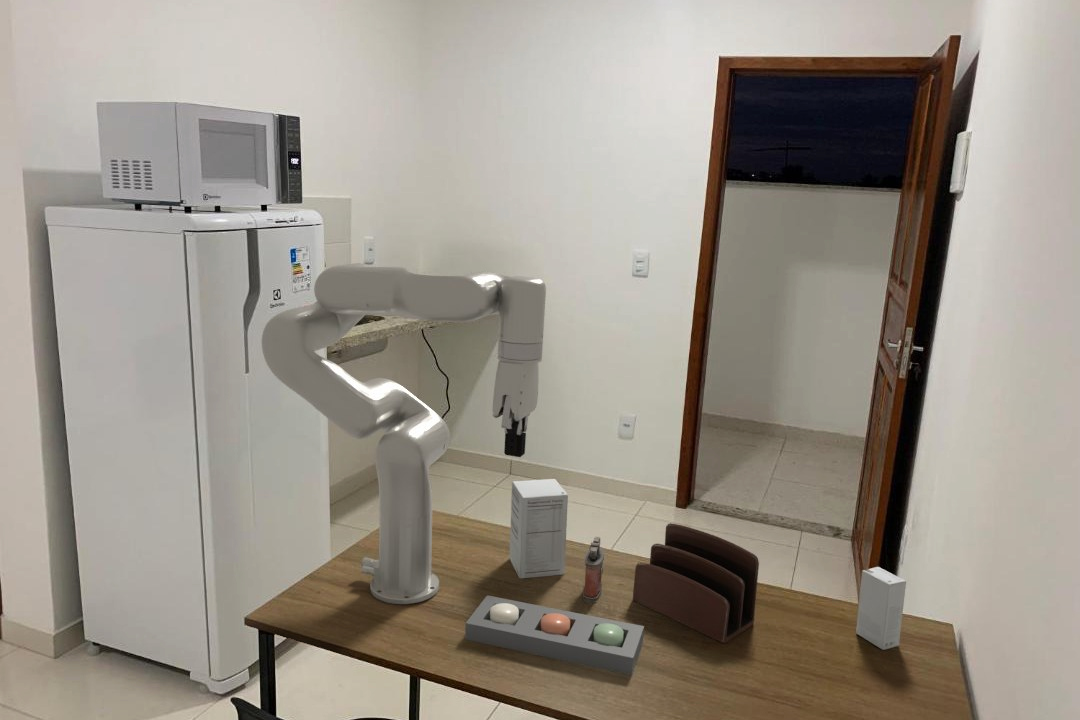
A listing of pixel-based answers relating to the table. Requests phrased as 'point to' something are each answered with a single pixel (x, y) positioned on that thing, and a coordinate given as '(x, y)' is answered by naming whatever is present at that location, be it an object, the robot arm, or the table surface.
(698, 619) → the letter holder
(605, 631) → the sage button
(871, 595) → the skincare box
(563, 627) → the terracotta button
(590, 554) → the lighter
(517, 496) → the supplement box
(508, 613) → the cream button
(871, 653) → the table surface
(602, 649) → the button panel
